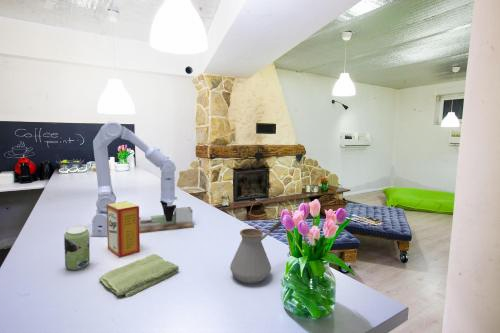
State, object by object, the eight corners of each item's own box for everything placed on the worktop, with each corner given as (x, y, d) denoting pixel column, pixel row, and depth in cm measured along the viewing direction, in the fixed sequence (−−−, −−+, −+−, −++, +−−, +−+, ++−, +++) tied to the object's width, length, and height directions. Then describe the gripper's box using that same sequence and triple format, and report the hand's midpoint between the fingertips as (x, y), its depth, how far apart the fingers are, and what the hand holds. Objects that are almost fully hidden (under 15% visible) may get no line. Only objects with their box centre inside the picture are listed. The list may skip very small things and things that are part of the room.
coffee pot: (247, 292, 67) (249, 235, 65) (221, 274, 76) (222, 223, 74) (302, 268, 81) (304, 219, 79) (274, 255, 89) (276, 211, 88)
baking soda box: (107, 249, 91) (106, 203, 89) (127, 244, 96) (126, 200, 94) (119, 257, 84) (118, 208, 83) (139, 251, 89) (138, 205, 88)
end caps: (138, 228, 109) (138, 214, 108) (138, 224, 114) (138, 210, 114) (192, 223, 118) (192, 210, 117) (189, 219, 123) (189, 206, 123)
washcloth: (96, 283, 70) (95, 272, 70) (156, 260, 84) (156, 251, 84) (120, 303, 62) (119, 290, 62) (182, 274, 76) (182, 263, 76)
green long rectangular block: (151, 226, 112) (151, 217, 112) (151, 223, 115) (151, 216, 115) (183, 222, 118) (183, 215, 117) (182, 220, 120) (182, 213, 120)
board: (138, 233, 106) (138, 230, 106) (138, 224, 117) (138, 222, 117) (193, 227, 115) (193, 225, 115) (188, 219, 126) (188, 217, 126)
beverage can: (85, 259, 82) (83, 222, 81) (94, 267, 78) (93, 227, 77) (61, 267, 78) (59, 227, 76) (70, 275, 73) (68, 233, 72)
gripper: (179, 190, 110) (179, 222, 111) (175, 184, 123) (175, 213, 124) (161, 191, 107) (162, 224, 108) (158, 185, 120) (159, 214, 122)
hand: (168, 218), depth 116 cm, fingers open, 7 cm apart
